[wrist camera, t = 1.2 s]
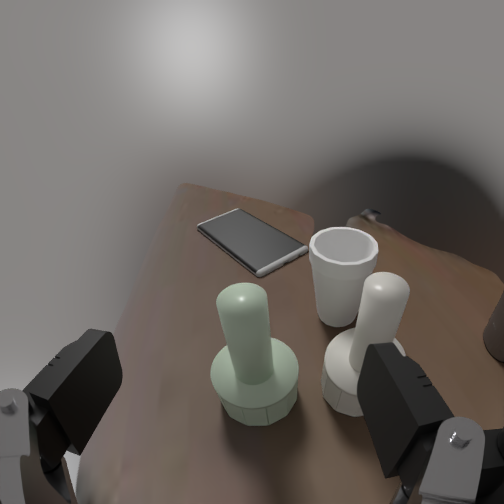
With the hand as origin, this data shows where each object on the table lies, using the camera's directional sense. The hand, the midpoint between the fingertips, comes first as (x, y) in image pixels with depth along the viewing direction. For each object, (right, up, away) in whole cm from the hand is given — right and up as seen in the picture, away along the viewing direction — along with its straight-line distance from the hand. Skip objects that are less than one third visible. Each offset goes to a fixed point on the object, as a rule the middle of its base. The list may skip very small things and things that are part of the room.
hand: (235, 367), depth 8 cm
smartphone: (-1, +6, +59) cm, 59 cm away
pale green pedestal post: (+1, -15, +26) cm, 30 cm away
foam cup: (+14, -6, +36) cm, 39 cm away
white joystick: (+14, -14, +25) cm, 32 cm away
